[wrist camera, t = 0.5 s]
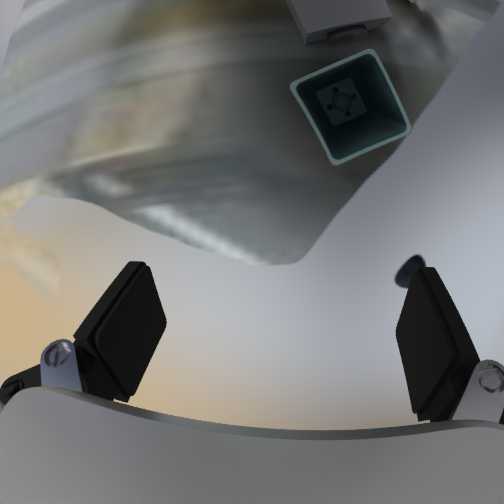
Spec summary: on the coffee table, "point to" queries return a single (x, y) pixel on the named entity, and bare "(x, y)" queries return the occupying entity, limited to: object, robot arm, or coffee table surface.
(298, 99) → the flower pot
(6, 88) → the coffee table surface
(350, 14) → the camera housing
